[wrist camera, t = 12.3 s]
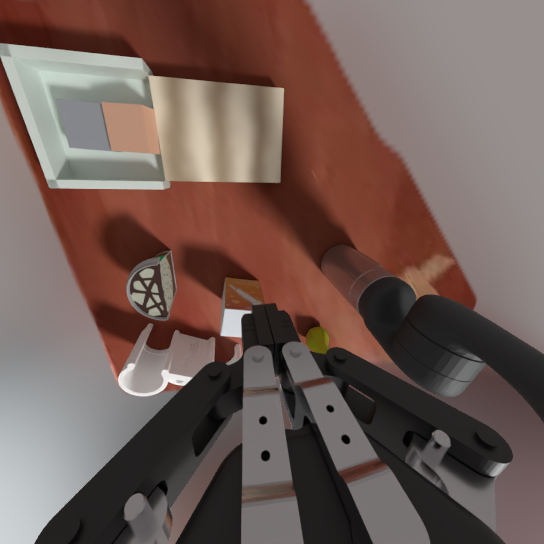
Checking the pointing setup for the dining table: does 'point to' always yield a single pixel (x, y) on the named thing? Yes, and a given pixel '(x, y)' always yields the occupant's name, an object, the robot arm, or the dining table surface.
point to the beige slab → (218, 130)
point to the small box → (238, 303)
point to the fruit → (317, 340)
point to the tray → (90, 88)
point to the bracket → (167, 363)
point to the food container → (153, 286)
